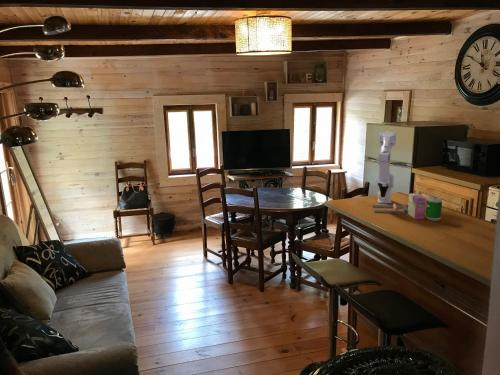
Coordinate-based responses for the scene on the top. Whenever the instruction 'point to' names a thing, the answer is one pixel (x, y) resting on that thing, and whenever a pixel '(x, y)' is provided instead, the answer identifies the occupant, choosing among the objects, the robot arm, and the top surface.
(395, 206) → the bar
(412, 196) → the box
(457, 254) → the top surface
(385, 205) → the lane
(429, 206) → the soda can
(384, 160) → the robot arm
